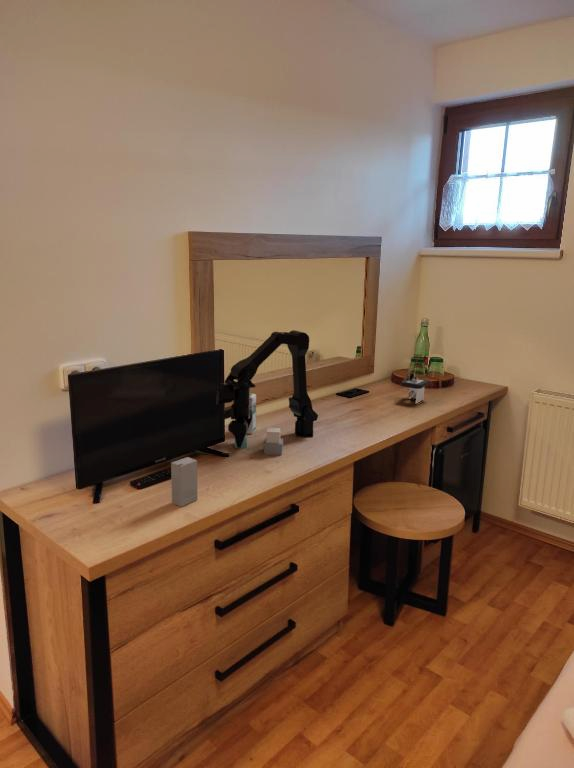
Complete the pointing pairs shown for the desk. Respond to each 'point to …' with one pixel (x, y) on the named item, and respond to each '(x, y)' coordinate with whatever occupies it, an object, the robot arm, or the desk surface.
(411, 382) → the black-topped pedestal
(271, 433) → the top block
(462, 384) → the desk surface
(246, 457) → the desk surface
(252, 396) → the syrup box
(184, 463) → the skincare box
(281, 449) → the base block
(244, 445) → the teal cylinder
